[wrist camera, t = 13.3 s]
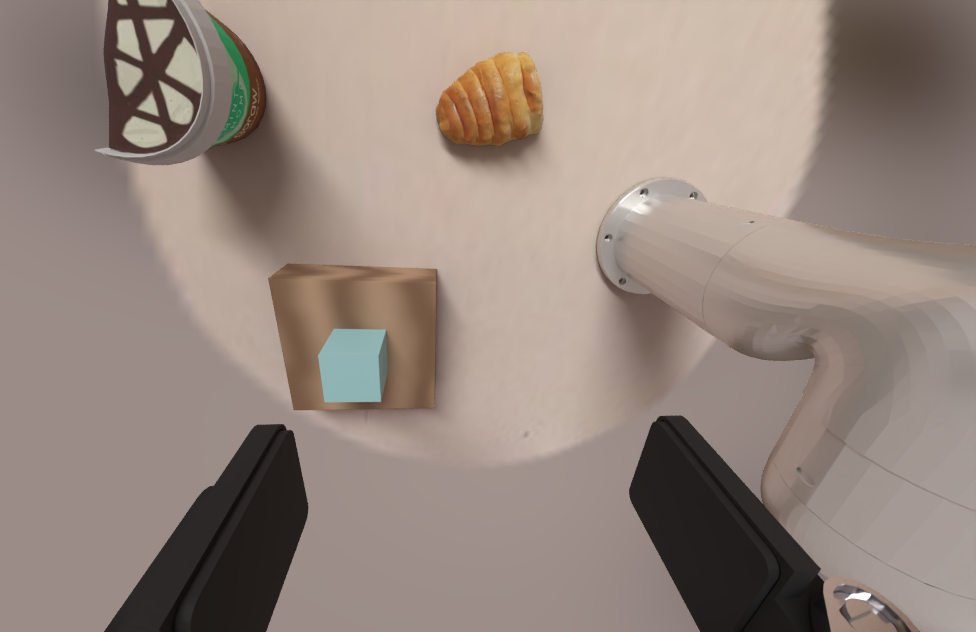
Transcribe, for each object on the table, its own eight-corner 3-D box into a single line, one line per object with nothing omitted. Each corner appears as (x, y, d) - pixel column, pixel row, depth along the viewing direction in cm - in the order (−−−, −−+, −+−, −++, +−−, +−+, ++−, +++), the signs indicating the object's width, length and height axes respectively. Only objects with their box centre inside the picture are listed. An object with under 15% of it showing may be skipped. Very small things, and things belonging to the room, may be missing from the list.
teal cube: (386, 329, 36) (378, 355, 31) (388, 371, 38) (380, 401, 33) (333, 328, 35) (318, 355, 31) (338, 371, 37) (324, 402, 33)
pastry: (450, 162, 34) (451, 163, 31) (424, 82, 31) (422, 73, 28) (543, 130, 34) (555, 128, 31) (526, 47, 31) (537, 34, 28)
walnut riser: (436, 269, 38) (436, 283, 34) (434, 384, 45) (434, 407, 41) (287, 263, 36) (268, 278, 32) (307, 385, 43) (293, 410, 38)
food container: (269, 183, 33) (204, 196, 24) (193, 155, 31) (94, 159, 22) (293, 31, 29) (224, -22, 20) (206, -10, 27) (89, -88, 18)
